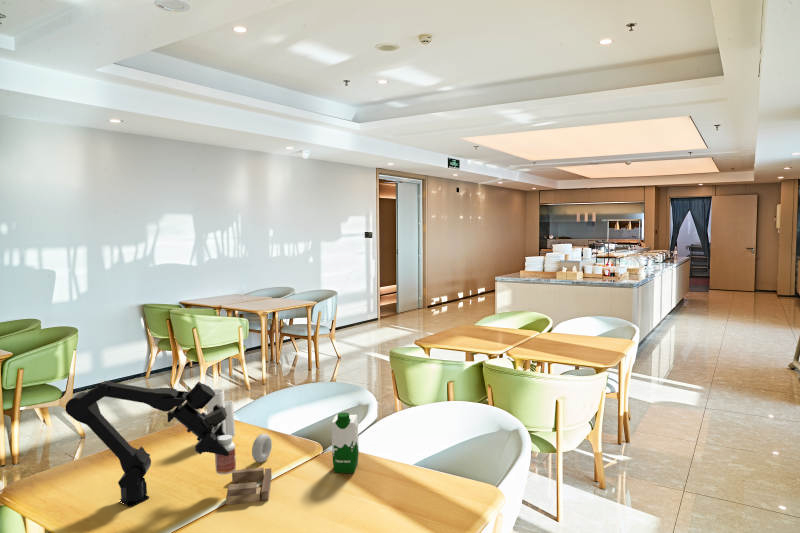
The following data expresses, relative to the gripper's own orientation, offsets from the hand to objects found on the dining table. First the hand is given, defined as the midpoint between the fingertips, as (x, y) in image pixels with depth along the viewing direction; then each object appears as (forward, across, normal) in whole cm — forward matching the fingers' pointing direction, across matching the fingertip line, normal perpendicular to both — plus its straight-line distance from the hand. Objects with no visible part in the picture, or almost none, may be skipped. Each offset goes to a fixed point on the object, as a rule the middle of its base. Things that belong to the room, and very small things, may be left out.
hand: (229, 450), depth 174 cm
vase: (+3, +45, +16) cm, 48 cm away
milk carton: (+36, +8, -17) cm, 40 cm away
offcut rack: (+14, -1, +5) cm, 14 cm away
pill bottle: (+4, 0, +6) cm, 7 cm away
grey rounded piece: (+15, +20, +4) cm, 26 cm away
